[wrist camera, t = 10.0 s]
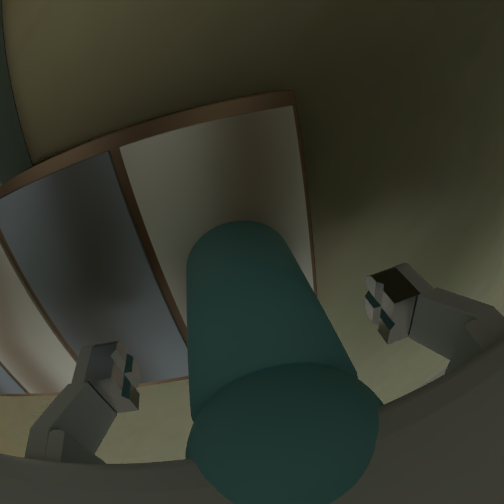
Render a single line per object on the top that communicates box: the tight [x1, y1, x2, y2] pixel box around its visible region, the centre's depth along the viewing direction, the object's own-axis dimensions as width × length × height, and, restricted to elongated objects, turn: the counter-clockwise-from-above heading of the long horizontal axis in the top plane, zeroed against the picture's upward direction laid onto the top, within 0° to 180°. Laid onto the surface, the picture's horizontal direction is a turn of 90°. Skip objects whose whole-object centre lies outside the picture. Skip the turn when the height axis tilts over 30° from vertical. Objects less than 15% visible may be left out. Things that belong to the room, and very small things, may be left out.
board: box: [0, 90, 317, 396], centre depth 12 cm, size 24×12×1 cm, turn 100°
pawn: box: [186, 220, 384, 504], centre depth 7 cm, size 4×4×10 cm
